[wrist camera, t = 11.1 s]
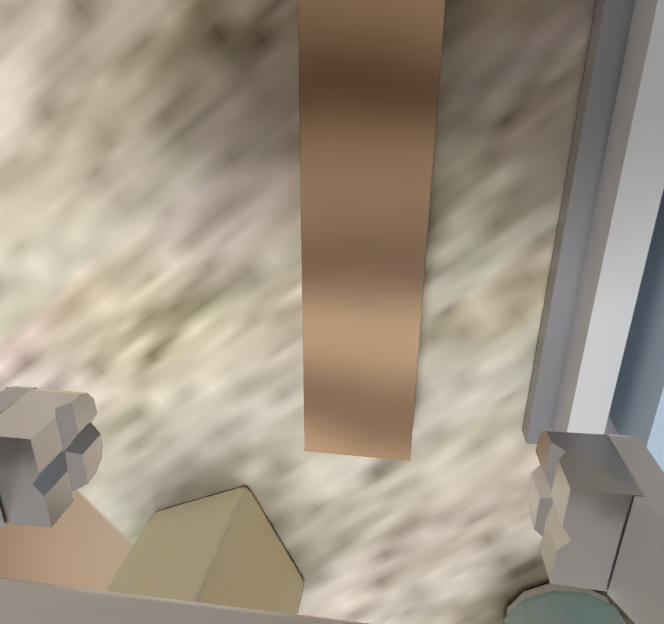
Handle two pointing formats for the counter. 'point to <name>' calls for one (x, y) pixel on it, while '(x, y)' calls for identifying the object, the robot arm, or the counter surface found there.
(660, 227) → the pale blue tabbed body
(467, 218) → the counter surface
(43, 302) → the counter surface
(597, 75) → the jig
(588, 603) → the disposable coffee cup
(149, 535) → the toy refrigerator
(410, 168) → the brown long rectangular bar
